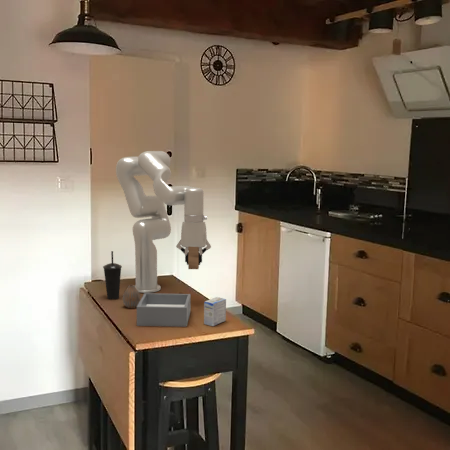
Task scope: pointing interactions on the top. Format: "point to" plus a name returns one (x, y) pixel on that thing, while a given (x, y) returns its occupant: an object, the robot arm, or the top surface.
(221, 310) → the medicine box
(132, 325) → the top surface
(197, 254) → the peg
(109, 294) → the drinking cup
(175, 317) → the open box
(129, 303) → the vase
